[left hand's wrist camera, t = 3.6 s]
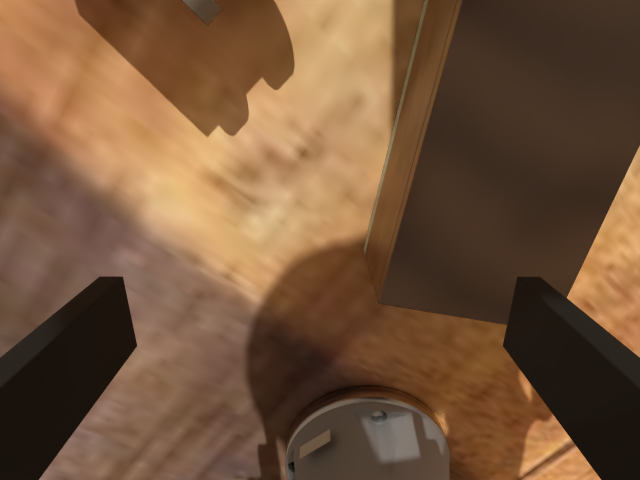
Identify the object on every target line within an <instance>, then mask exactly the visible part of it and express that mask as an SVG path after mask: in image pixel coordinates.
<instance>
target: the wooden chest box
mask: <svg viewBox="0 0 640 480" xmlns="http://www.w3.org/2000/svg"><path fill="white" fill-rule="evenodd" d="M639 145H640V0H425V1H424V5H423V9H422V13H421V17H420V21H419V25H418V29H417V33H416V37H415V41H414V45H413V49H412V54H411V58H410V62H409V66H408V70H407V74H406V78H405V82H404V86H403V90H402V94H401V98H400V102H399V106H398V110H397V115H396V119H395V123H394V127H393V131H392V135H391V139H390V143H389V147H388V151H387V155H386V159H385V163H384V167H383V171H382V175H381V180H380V184H379V188H378V192H377V196H376V200H375V204H374V208H373V212H372V216H371V220H370V224H369V228H368V232H367V236H366V241H365V245H364V249H363V251H364V255H365V257H366V261H367V264H368V268H369V271H370V275H371V279H372V282H373V286H374V289H375V293H376V296H377V300H378V303H379V304H384V305H390V306H396V307H402V308H408V309H414V310H420V311H426V312H432V313H438V314H444V315H450V316H456V317H462V318H469V319H475V320H481V321H487V322H493V323H499V324H505V325H507V324H508V319H509V314H510V309H511V304H512V300H513V295H514V290H515V285H516V280H517V277H541V278H542V279H544V280H545V281H546V282H547V283H549V284H550V285H551V286H552V287H553V288H555V289H556V290H557V291H558V292H560V293H561V294H562V295H563V296H565V297H566V298H567V296H568V294H569V292H570V290H571V288H572V285H573V283H574V281H575V279H576V277H577V275H578V273H579V271H580V269H581V267H582V265H583V262H584V260H585V258H586V256H587V254H588V252H589V250H590V248H591V246H592V244H593V242H594V240H595V237H596V235H597V233H598V231H599V229H600V227H601V225H602V223H603V221H604V219H605V217H606V214H607V212H608V210H609V208H610V206H611V204H612V202H613V200H614V198H615V196H616V194H617V191H618V189H619V187H620V185H621V183H622V181H623V179H624V177H625V175H626V173H627V171H628V168H629V166H630V164H631V162H632V160H633V158H634V156H635V154H636V152H637V150H638V148H639Z"/></svg>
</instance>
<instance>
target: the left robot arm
mask: <svg viewBox="0 0 640 480" xmlns="http://www.w3.org/2000/svg"><path fill="white" fill-rule="evenodd" d="M136 347H137V343H136V338H135V333H134V329H133V324H132V319H131V314H130V309H129V304H128V300H127V295H126V290H125V285H124V280H123V277H99V278H98V279H96V280H95V281H94V282H93V283H91V284H90V285H89V286H88V287H87V288H85V289H84V290H83V291H82V292H80V293H79V294H78V295H77V296H75V297H74V298H73V299H72V300H71V301H69V302H68V303H67V304H66V305H64V306H63V307H62V308H61V309H60V310H58V311H57V312H56V313H55V314H53V315H52V316H51V317H50V318H48V319H47V320H46V321H45V322H44V323H42V324H41V325H40V326H39V327H37V328H36V329H35V330H34V331H33V332H31V333H30V334H29V335H28V336H26V337H25V338H24V339H23V340H21V341H20V342H19V343H18V344H17V345H15V346H14V347H13V348H12V349H10V350H9V351H8V352H7V353H6V354H4V355H3V356H2V357H1V358H0V480H39V479H40V477H41V476H42V474H43V473H44V472H45V470H46V469H47V468H48V466H49V465H50V464H51V462H52V461H53V459H54V458H55V457H56V455H57V454H58V453H59V451H60V450H61V449H62V447H63V446H64V445H65V443H66V442H67V440H68V439H69V438H70V436H71V435H72V434H73V432H74V431H75V430H76V428H77V427H78V426H79V424H80V423H81V421H82V420H83V419H84V417H85V416H86V415H87V413H88V412H89V411H90V409H91V408H92V406H93V405H94V404H95V402H96V401H97V400H98V398H99V397H100V396H101V394H102V393H103V392H104V390H105V389H106V387H107V386H108V385H109V383H110V382H111V381H112V379H113V378H114V377H115V375H116V374H117V372H118V371H119V370H120V368H121V367H122V366H123V364H124V363H125V362H126V360H127V359H128V358H129V356H130V355H131V353H132V352H133V351H134V349H135V348H136ZM503 347H504V348H505V349H506V351H507V352H508V353H509V355H510V356H511V358H512V359H513V360H514V362H515V363H516V364H517V366H518V367H519V368H520V370H521V371H522V372H523V374H524V375H525V377H526V378H527V379H528V381H529V382H530V383H531V385H532V386H533V387H534V389H535V390H536V392H537V393H538V394H539V396H540V397H541V398H542V400H543V401H544V402H545V404H546V405H547V406H548V408H549V409H550V411H551V412H552V413H553V415H554V416H555V417H556V419H557V420H558V421H559V423H560V424H561V426H562V427H563V428H564V430H565V431H566V432H567V434H568V435H569V436H570V438H571V439H572V440H573V442H574V443H575V445H576V446H577V447H578V449H579V450H580V451H581V453H582V454H583V455H584V457H585V458H586V460H587V461H588V462H589V464H590V465H591V466H592V468H593V469H594V470H595V472H596V473H597V474H598V476H599V477H600V479H601V480H640V358H639V357H638V356H637V355H636V354H634V353H633V352H632V351H631V350H630V349H628V348H627V347H626V346H625V345H623V344H622V343H621V342H620V341H619V340H617V339H616V338H615V337H614V336H612V335H611V334H610V333H609V332H607V331H606V330H605V329H604V328H603V327H601V326H600V325H599V324H598V323H596V322H595V321H594V320H593V319H592V318H590V317H589V316H588V315H587V314H585V313H584V312H583V311H582V310H580V309H579V308H578V307H577V306H576V305H574V304H573V303H572V302H571V301H569V300H568V299H567V298H566V297H565V296H563V295H562V294H561V293H560V292H558V291H557V290H556V289H555V288H553V287H552V286H551V285H550V284H549V283H547V282H546V281H545V280H544V279H542V278H541V277H517V280H516V285H515V290H514V295H513V300H512V304H511V309H510V314H509V319H508V324H507V329H506V333H505V338H504V343H503ZM449 466H450V453H449V447H448V444H447V441H446V439H445V436H444V433H443V430H442V428H441V425H440V423H439V421H438V419H437V418H436V416H435V415H434V413H433V412H432V411H431V410H430V409H429V408H428V407H427V406H426V405H425V404H423V403H422V402H421V401H419V400H418V399H416V398H414V397H412V396H410V395H408V394H406V393H403V392H401V391H398V390H394V389H390V388H385V387H375V386H362V387H352V388H347V389H343V390H339V391H336V392H333V393H330V394H328V395H326V396H324V397H321V398H320V399H318V400H316V401H315V402H313V403H312V404H310V405H309V406H308V407H307V408H306V409H304V410H303V411H302V412H301V414H300V415H299V416H298V417H297V418H296V420H295V421H294V423H293V425H292V427H291V429H290V431H289V435H288V439H287V447H286V458H285V468H286V473H287V477H288V480H450V472H449Z"/></svg>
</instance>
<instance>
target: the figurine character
mask: <svg viewBox="0 0 640 480" xmlns="http://www.w3.org/2000/svg"><path fill="white" fill-rule="evenodd" d="M183 1H184V2H185V3H186V4H187V6H188V7H189V8H190V9H191V10H192V11H193V12H194V13H195V14H196V15H197V16H198V17H199V18H200V19H201V20H202V21H203V22H204V23H205V24H206V25H207V26H208V25H209V24H210V23H211V22H212V21H213V20H214V19H215V18H216V17H217V16H218V15H219V13H220V12H221V11H222V9H221V7H220V6H219V5H218V4H217V3H216V1H215V0H183Z"/></svg>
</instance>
